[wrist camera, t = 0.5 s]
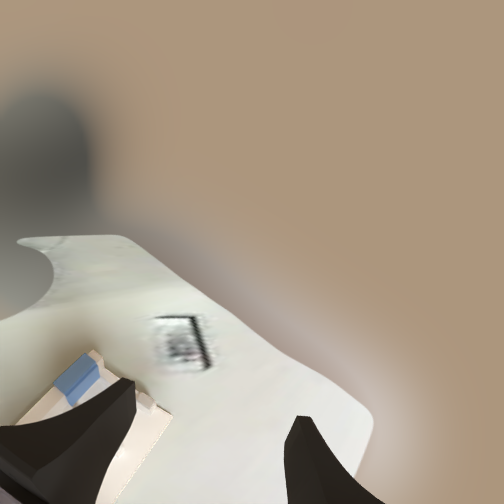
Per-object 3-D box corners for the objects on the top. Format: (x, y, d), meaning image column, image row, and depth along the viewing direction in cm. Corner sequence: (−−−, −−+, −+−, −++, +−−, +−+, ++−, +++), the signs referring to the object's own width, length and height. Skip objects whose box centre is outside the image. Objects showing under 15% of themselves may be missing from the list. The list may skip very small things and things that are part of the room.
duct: (74, 554, 7) (62, 558, 5) (-12, 475, 9) (-33, 463, 7) (172, 417, 26) (177, 401, 23) (94, 364, 27) (90, 342, 25)
